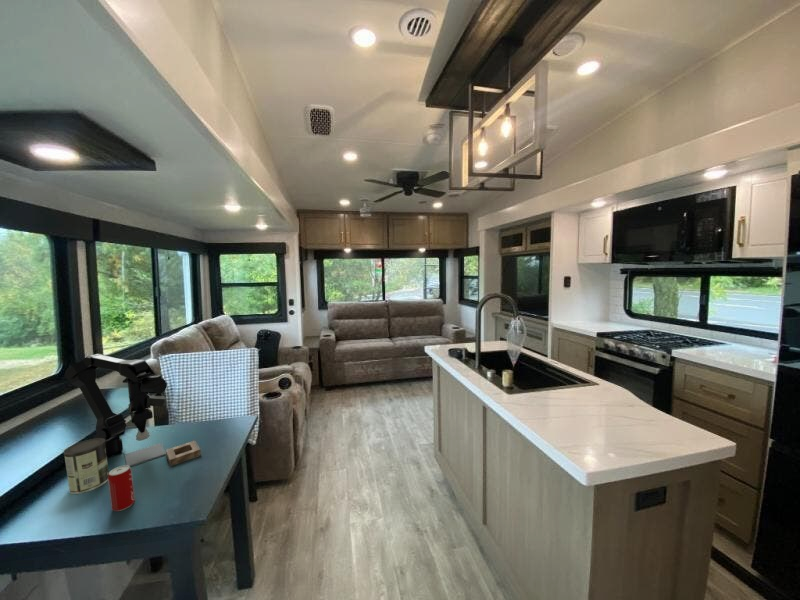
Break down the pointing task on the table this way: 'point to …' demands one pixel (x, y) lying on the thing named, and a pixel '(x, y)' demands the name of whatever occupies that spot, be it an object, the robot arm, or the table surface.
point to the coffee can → (86, 465)
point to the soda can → (121, 488)
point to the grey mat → (144, 455)
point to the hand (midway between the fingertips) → (142, 431)
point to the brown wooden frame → (183, 453)
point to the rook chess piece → (142, 435)
